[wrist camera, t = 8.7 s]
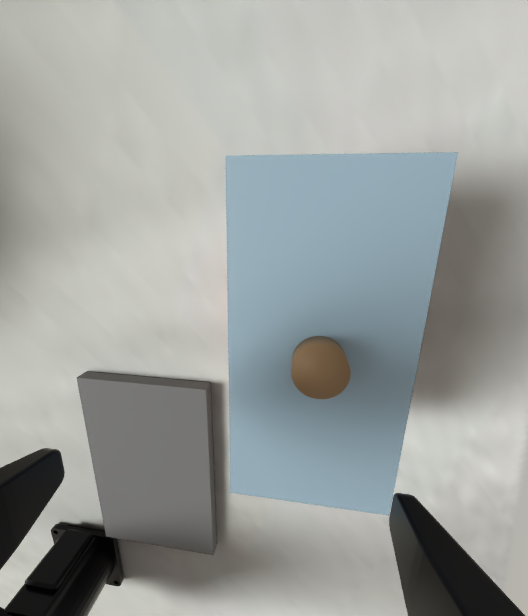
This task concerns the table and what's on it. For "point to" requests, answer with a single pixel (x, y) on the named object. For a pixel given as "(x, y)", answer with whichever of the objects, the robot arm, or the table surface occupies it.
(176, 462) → the mat
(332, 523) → the table surface
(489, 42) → the table surface
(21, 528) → the robot arm
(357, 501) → the lid
